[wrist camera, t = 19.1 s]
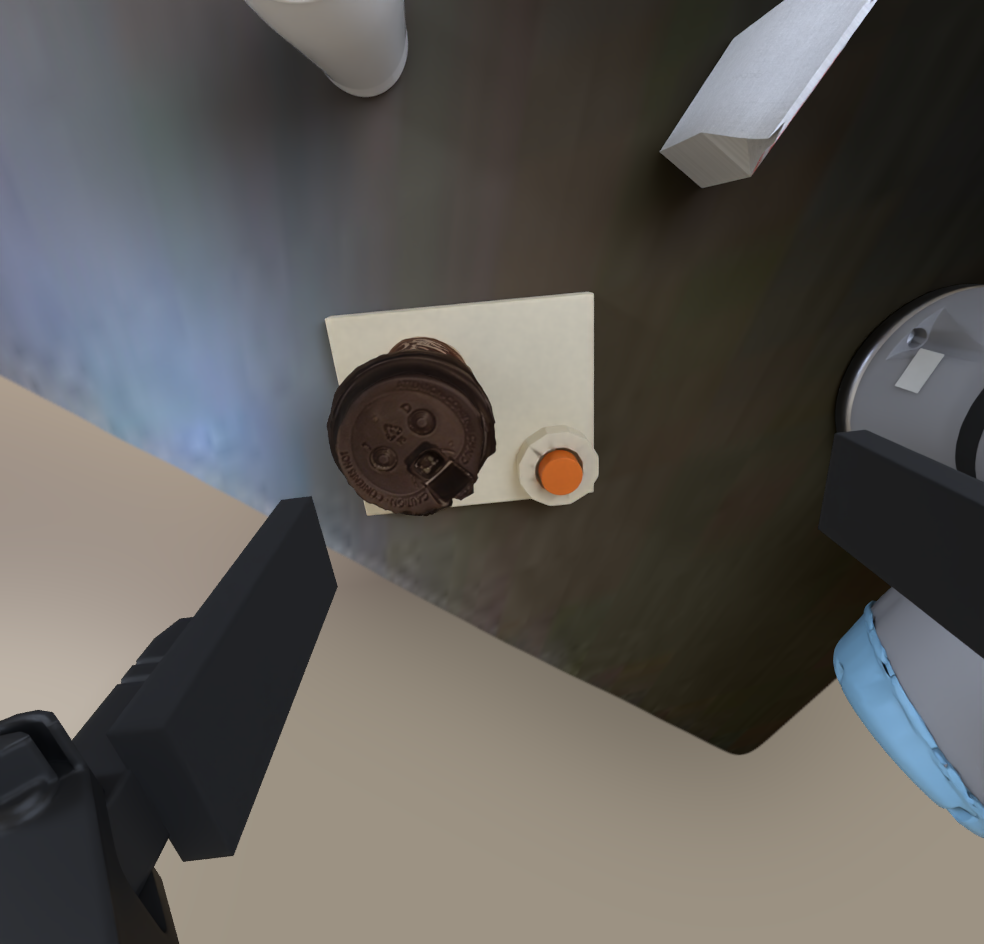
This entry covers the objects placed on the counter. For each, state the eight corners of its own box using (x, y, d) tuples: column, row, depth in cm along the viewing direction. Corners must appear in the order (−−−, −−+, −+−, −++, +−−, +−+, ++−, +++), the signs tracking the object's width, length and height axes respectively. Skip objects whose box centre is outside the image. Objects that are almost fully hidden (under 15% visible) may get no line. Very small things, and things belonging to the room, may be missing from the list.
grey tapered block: (659, 151, 32) (741, 113, 22) (733, 38, 29) (857, -55, 20) (701, 188, 33) (797, 165, 23) (776, 81, 30) (912, 10, 21)
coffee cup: (489, 436, 37) (504, 524, 25) (377, 446, 37) (339, 541, 25) (479, 314, 34) (491, 351, 22) (355, 325, 33) (298, 368, 22)
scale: (589, 291, 35) (600, 295, 32) (589, 485, 41) (599, 501, 38) (329, 315, 34) (318, 322, 32) (369, 507, 41) (363, 526, 38)
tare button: (578, 447, 37) (582, 455, 35) (578, 484, 38) (583, 493, 36) (537, 451, 37) (540, 460, 35) (539, 488, 38) (542, 497, 36)
